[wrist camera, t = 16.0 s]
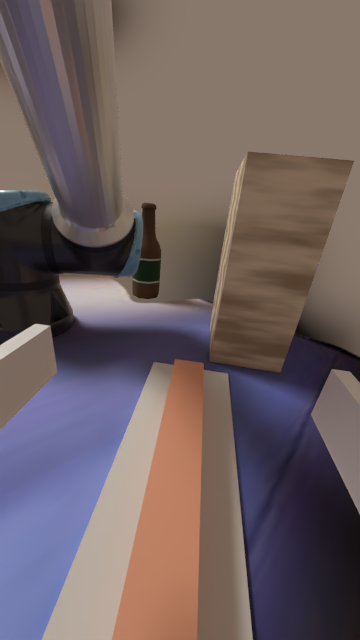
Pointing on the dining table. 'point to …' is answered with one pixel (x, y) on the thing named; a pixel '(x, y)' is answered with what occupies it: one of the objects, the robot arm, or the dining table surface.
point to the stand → (271, 254)
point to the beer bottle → (148, 258)
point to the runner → (123, 515)
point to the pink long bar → (168, 523)
